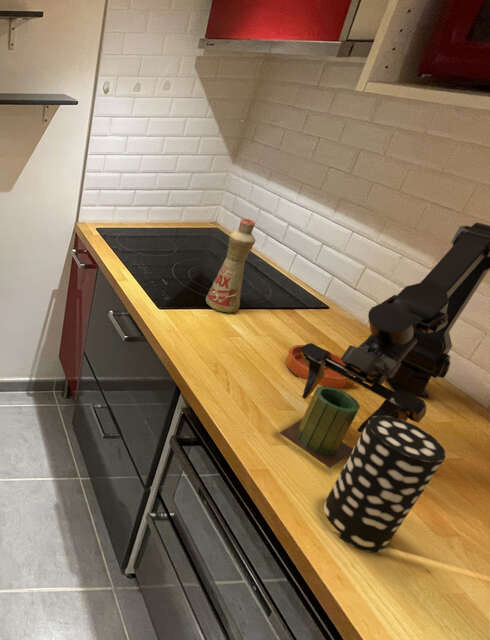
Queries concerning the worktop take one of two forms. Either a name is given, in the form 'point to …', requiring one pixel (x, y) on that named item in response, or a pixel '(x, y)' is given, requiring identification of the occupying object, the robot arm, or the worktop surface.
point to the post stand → (325, 459)
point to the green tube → (327, 420)
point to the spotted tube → (382, 481)
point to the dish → (301, 369)
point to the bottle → (232, 270)
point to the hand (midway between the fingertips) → (329, 414)
